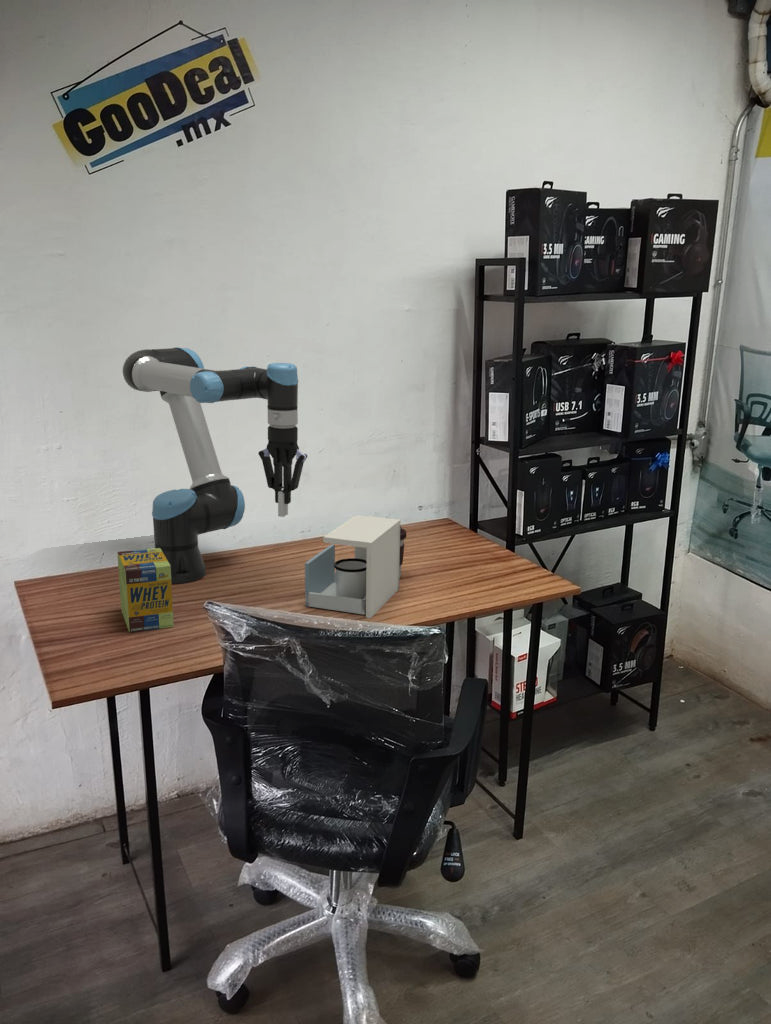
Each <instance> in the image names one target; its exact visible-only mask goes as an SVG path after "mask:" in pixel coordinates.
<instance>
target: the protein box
mask: <svg viewBox="0 0 771 1024" xmlns="http://www.w3.org/2000/svg"><path fill="white" fill-rule="evenodd" d="M116 554H117V568H118V581H119V595H120V610H121V613H122V615H123V620H124V622H125V624H126V627H127V630H128V633H131V634H132V633H138V632H144V631H145V632H146V631H151V630H152V631H153V630H157V629H166V628H173V627H174V623H175V622H174V605H173V587H172V582H171V566H170V564H169V562H168V560H167V559H166V557H165V555H164V554H163V552H162V550H161V549H160V548H155V547H154V548H144V549H134V550H123V551H121V550H120V551H117V553H116Z"/></svg>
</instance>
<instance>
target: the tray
mask: <svg viewBox="0 0 771 1024" xmlns="http://www.w3.org/2000/svg"><path fill="white" fill-rule="evenodd" d="M335 545H336V544H331V543H330V545H328V546H327V547H325V548H324V549H323V550H321V551H320V552H318V553H317V554H315V555H314V556H313V557H311V558H310V559H309V560H307V561H305V563H304V598H305V599H304V601H305V602H304V605H305V606H306V607H310V608H311V607H312V608H317V609H325V610H331V611H338V612H345V613H352V614H356V615H357V614H358V615H363V616H364V615H365V616H366V597H365V598H364V599H356V598H349V597H342V596H336V569H335V568H334V563H335V562H336V546H335Z"/></svg>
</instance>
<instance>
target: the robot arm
mask: <svg viewBox="0 0 771 1024" xmlns="http://www.w3.org/2000/svg"><path fill="white" fill-rule="evenodd" d="M145 356H146V357H145ZM203 363H204V362H203V361H202V358H201V357H200V355H199V354H197V352H196V351H194V350H192V349H190V348H189V347H172V348H155V349H153V348H152V349H148V348H147V349H140V350H137V351H135V352H133V353H132V354H130V355H129V356H128V357H127V358H126V359H125V361H124V363H123V366H122V376H123V379H124V381H125V383H126V384H127V385H128V386H129V387H130V388H131V389H134V390H136V391H139V392H143V393H144V392H146V393H150V392H151V393H152V392H159V395H160V399H162V401H164V402H166V403H167V404H168V405H169V408H170V413H171V415H172V418H173V421H174V426H175V429H176V433H177V434H178V435H177V436H178V438H179V442H180V445H181V449H182V451H183V454H184V459H185V462H186V465H187V468H188V471H189V475H190V479H191V480H192V481H191V482H192V484H191V486H190V487H189V488H180V489H171V490H170V489H169V490H168V491H164V492H162V493H159V494H158V495H157V496H155V498H154V499H153V501H152V510H151V511H152V512H151V515H152V522H153V524H152V525H153V536H154V537H153V539H154V540H153V541H154V548H160V549H161V550H162V552H163V554H164V555H165V557H166V559H167V560H168V562H169V564H170V566H171V582H172V584H185V583H191V582H194V581H197V580H198V581H199V579H202V578H204V576H206V574H207V573H206V564H205V561H204V558H203V557H202V554H201V551H200V548H199V537H198V536H199V535H202V534H207V533H211V532H215V531H219V530H227V529H229V528H231V527H234V526H237V525H238V524H239V523H240V522H241V521H242V519H243V517H244V514H245V509H246V503H245V498H244V494H243V492H242V490H241V489H239V486H236V485H233V484H231V481H230V478H229V477H227V476H226V475H224V474H223V472H222V469H221V467H220V463H219V460H218V456H217V454H216V450H215V446H214V444H213V441H212V437H211V434H210V429H209V427H208V424H207V420H206V417H205V414H204V413H205V412H204V410H203V407H202V404H214V403H217V402H225V401H227V402H229V401H234V400H236V401H237V400H246V399H263V400H267V406H266V407H267V424H268V425H269V426H267V441H268V443H267V445H266V448H264V449H262V450H260V451H258V456H259V457H260V459H261V461H262V467H263V470H264V474H265V479H266V485H267V487H268V488H269V489H272V490H274V502H275V503H276V504H277V516H278V517H280V518H281V517H282V518H284V517H286V516H288V515H289V504H291V502H292V491H295V490H297V489H298V488H299V486H300V485H299V484H300V480H301V476H302V471H303V467H304V463H305V462H306V460H307V458H308V454H307V453H303V452H302V451H300V447H299V446H298V440H299V439H298V438H299V437H298V434H299V432H298V431H299V430H298V426H297V425H298V423H299V418H298V417H299V415H298V414H299V413H298V406H299V405H298V404H299V403H298V402H299V401H298V399H299V398H298V397H299V396H298V395H299V392H298V388H299V387H298V386H299V385H298V383H299V377H298V368H297V366H296V365H295V364H294V363H289V362H272V363H269V364H268V365H267V368H261V367H257V366H243V367H241V368H238V369H229V370H214V369H208V368H207V369H206V368H205V366H204V364H203ZM134 364H135V365H134ZM271 458H272V459H271ZM294 458H295V460H296V462H295V464H294V469H293V470H292V465H293V460H294ZM272 461H273V462H272ZM272 463H273V464H272ZM292 471H293V472H292Z"/></svg>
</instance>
